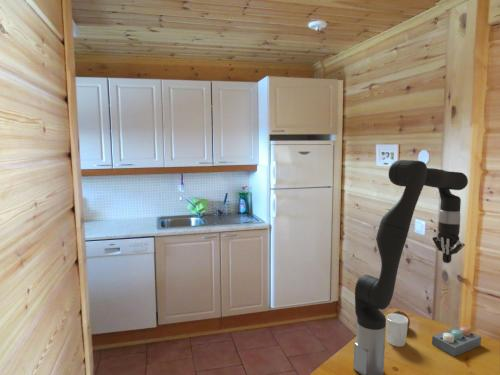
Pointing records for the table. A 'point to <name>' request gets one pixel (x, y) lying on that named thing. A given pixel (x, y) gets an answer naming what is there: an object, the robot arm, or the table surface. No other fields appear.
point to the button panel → (456, 343)
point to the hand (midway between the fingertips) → (446, 262)
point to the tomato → (403, 315)
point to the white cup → (396, 329)
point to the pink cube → (465, 331)
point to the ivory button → (448, 338)
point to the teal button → (457, 334)
